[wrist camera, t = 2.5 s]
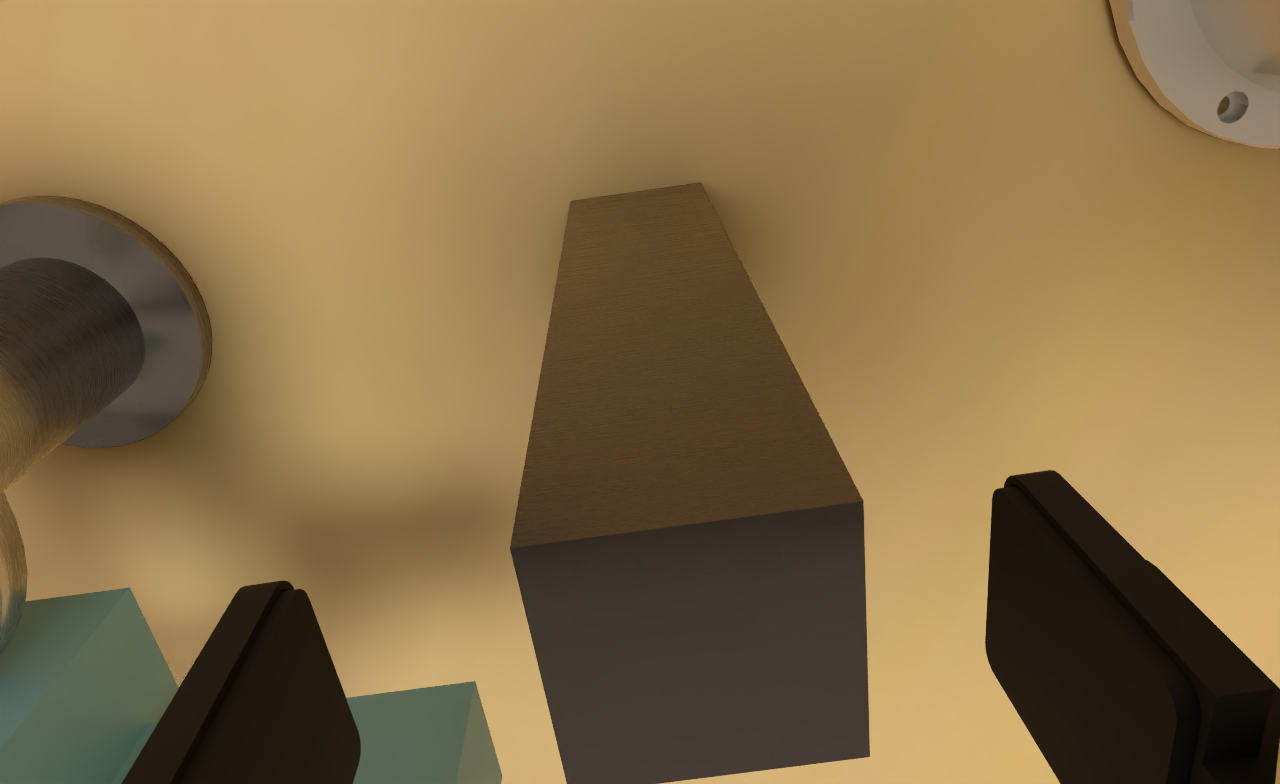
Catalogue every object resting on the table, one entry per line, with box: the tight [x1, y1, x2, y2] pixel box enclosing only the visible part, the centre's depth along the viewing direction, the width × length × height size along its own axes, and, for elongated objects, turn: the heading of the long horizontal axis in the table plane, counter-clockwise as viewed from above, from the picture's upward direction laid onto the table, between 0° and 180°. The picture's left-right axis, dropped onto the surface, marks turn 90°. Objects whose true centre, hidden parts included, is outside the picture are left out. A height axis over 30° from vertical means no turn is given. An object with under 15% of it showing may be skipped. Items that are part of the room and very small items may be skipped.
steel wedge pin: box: [510, 183, 870, 784], centre depth 18 cm, size 4×4×18 cm
